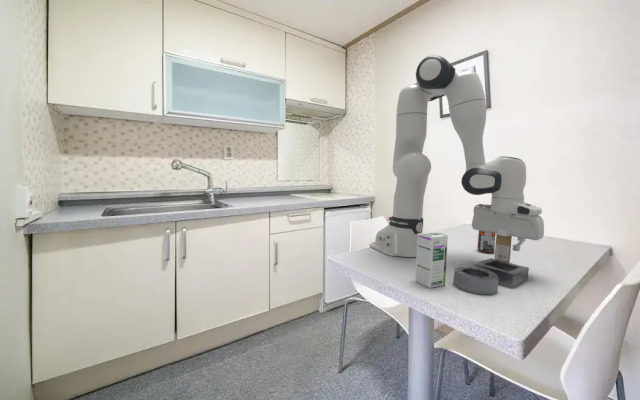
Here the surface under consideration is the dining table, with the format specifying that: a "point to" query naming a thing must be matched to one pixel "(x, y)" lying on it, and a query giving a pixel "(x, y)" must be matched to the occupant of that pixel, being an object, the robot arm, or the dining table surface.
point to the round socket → (476, 280)
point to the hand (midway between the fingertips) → (503, 247)
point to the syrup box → (431, 259)
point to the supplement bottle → (485, 243)
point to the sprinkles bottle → (502, 246)
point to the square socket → (505, 272)
